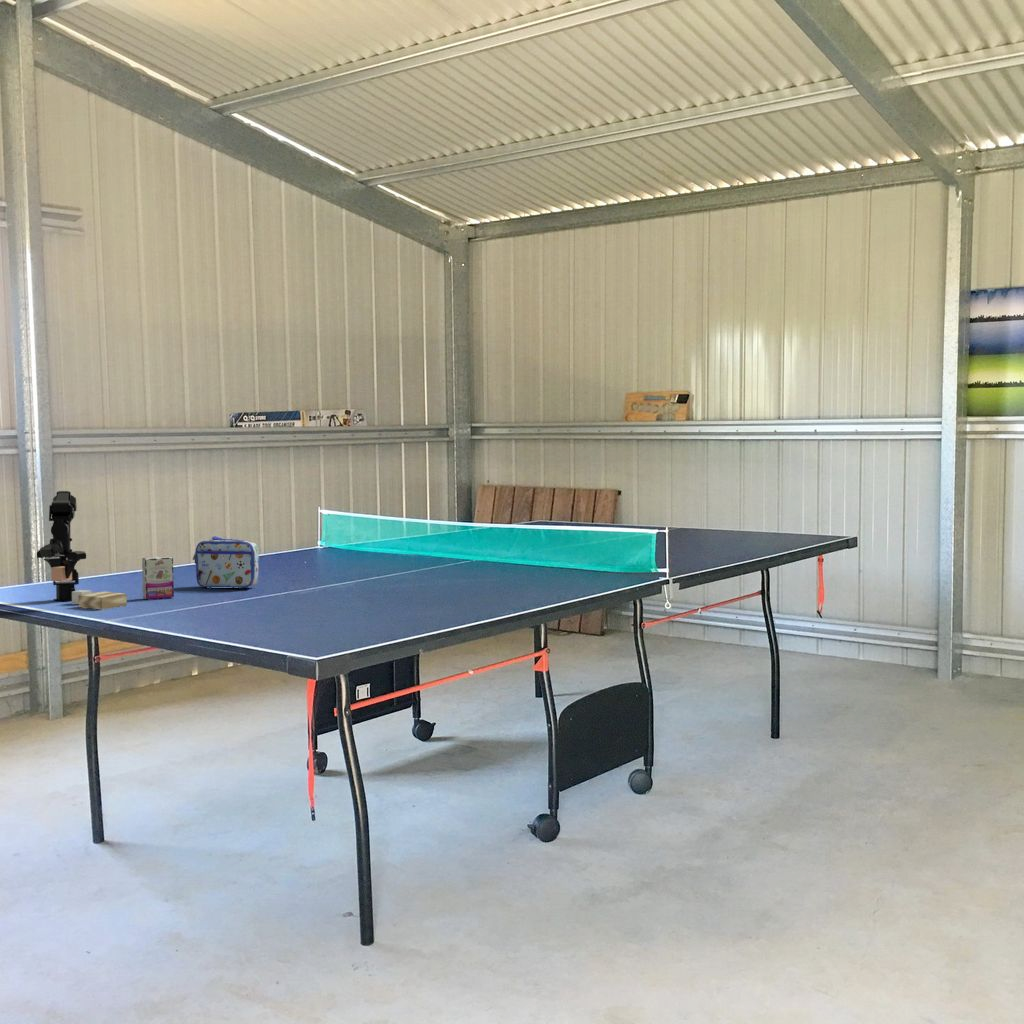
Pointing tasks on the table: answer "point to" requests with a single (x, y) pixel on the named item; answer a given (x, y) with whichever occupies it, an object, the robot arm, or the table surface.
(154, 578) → the candy bar box
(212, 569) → the lunch box
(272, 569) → the table surface
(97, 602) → the maple block
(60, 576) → the terracotta cube
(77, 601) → the white cube
